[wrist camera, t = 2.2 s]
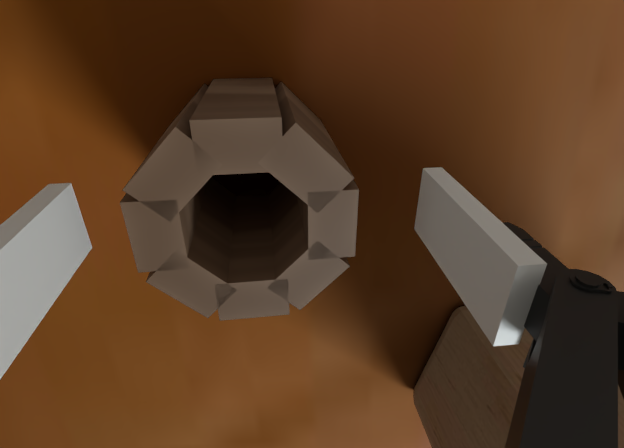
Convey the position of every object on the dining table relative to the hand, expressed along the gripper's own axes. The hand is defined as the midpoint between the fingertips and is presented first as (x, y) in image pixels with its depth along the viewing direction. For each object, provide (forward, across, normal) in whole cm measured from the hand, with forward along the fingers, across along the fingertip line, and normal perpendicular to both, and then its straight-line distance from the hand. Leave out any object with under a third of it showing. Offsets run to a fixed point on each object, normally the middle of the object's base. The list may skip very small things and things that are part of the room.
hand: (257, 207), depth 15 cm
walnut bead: (+7, 0, 0) cm, 7 cm away
